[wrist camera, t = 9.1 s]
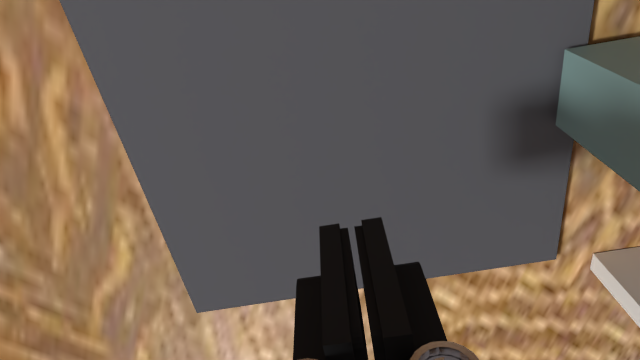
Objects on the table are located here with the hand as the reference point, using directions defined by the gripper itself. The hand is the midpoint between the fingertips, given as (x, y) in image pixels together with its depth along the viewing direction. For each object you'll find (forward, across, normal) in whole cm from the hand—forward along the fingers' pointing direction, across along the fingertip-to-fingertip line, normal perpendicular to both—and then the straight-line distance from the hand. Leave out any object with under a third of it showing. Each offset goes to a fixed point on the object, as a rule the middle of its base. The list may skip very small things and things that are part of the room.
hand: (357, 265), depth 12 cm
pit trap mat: (+7, -1, -2) cm, 7 cm away
